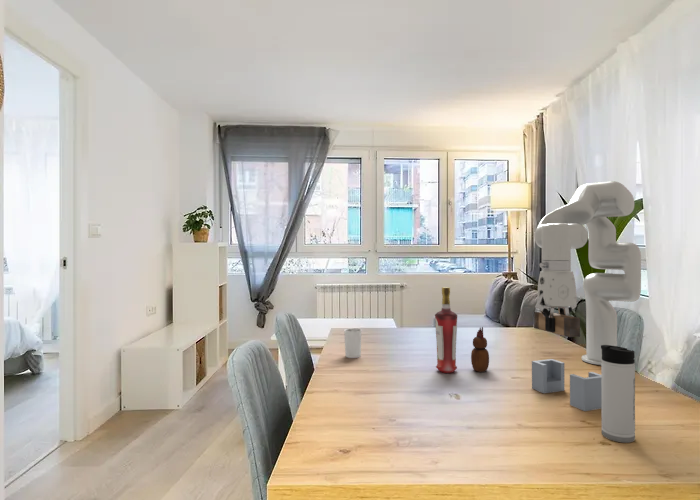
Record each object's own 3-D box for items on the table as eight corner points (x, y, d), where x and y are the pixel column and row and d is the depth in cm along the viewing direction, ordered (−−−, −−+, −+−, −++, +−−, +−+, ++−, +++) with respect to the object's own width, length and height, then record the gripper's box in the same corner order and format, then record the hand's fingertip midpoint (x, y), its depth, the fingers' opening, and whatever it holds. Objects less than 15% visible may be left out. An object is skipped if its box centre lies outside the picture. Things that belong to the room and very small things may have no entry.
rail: (543, 327, 134) (543, 310, 134) (579, 336, 121) (579, 318, 121) (534, 328, 133) (534, 311, 133) (569, 337, 120) (569, 318, 120)
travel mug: (593, 431, 100) (593, 342, 100) (621, 430, 100) (621, 342, 100) (612, 443, 94) (612, 349, 93) (642, 442, 94) (641, 348, 94)
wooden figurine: (490, 373, 145) (489, 328, 145) (471, 372, 146) (471, 327, 146) (488, 368, 152) (487, 324, 152) (470, 367, 153) (470, 323, 153)
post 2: (584, 411, 112) (584, 379, 112) (569, 404, 116) (569, 374, 116) (607, 407, 114) (607, 376, 114) (592, 401, 119) (591, 371, 119)
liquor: (433, 368, 152) (433, 286, 152) (455, 368, 152) (454, 286, 152) (437, 374, 145) (436, 288, 145) (459, 374, 145) (459, 288, 144)
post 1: (552, 385, 132) (552, 358, 132) (564, 390, 128) (564, 362, 128) (531, 388, 130) (531, 361, 130) (543, 393, 126) (543, 365, 125)
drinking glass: (362, 354, 173) (362, 328, 173) (361, 358, 166) (360, 331, 166) (345, 353, 174) (345, 328, 173) (343, 358, 167) (343, 331, 167)
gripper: (541, 267, 121) (541, 335, 121) (589, 266, 125) (589, 331, 126) (522, 266, 128) (523, 330, 128) (569, 265, 133) (569, 327, 133)
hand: (556, 330), depth 127 cm, fingers closed on rail, 3 cm apart
